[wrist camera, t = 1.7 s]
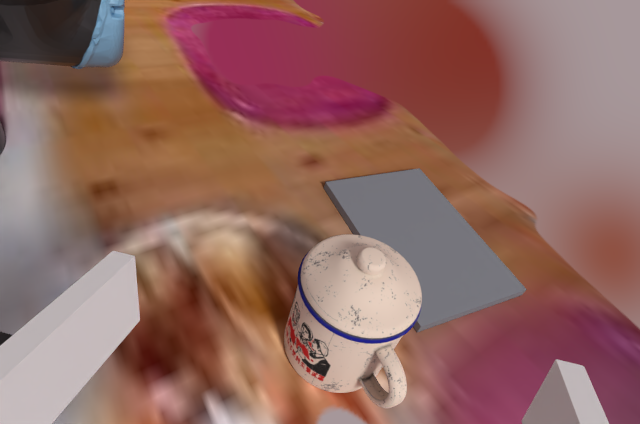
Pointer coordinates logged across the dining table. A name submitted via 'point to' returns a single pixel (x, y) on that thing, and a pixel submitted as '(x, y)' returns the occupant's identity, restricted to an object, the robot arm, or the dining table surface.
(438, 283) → the serving board
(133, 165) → the dining table surface
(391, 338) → the teacup with lid
